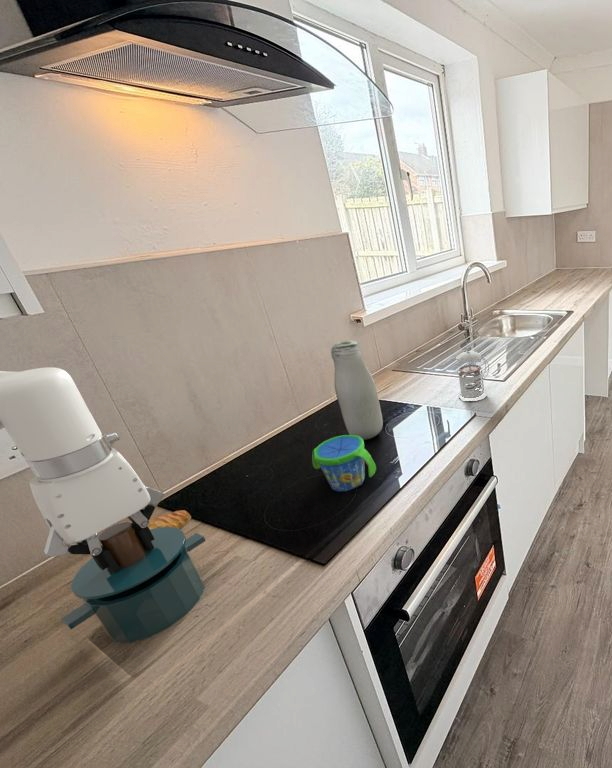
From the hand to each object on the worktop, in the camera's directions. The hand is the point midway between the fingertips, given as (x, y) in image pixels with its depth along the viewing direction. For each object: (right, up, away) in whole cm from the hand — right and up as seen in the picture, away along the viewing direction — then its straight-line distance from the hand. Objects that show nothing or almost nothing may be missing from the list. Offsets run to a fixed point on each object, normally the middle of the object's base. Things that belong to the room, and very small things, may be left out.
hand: (130, 556), depth 64 cm
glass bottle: (+18, +12, +53) cm, 57 cm away
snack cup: (+21, +3, +33) cm, 39 cm away
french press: (+47, +23, +73) cm, 90 cm away
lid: (0, -1, 0) cm, 1 cm away
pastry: (-13, -5, +21) cm, 25 cm away
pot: (+1, -10, +5) cm, 11 cm away
